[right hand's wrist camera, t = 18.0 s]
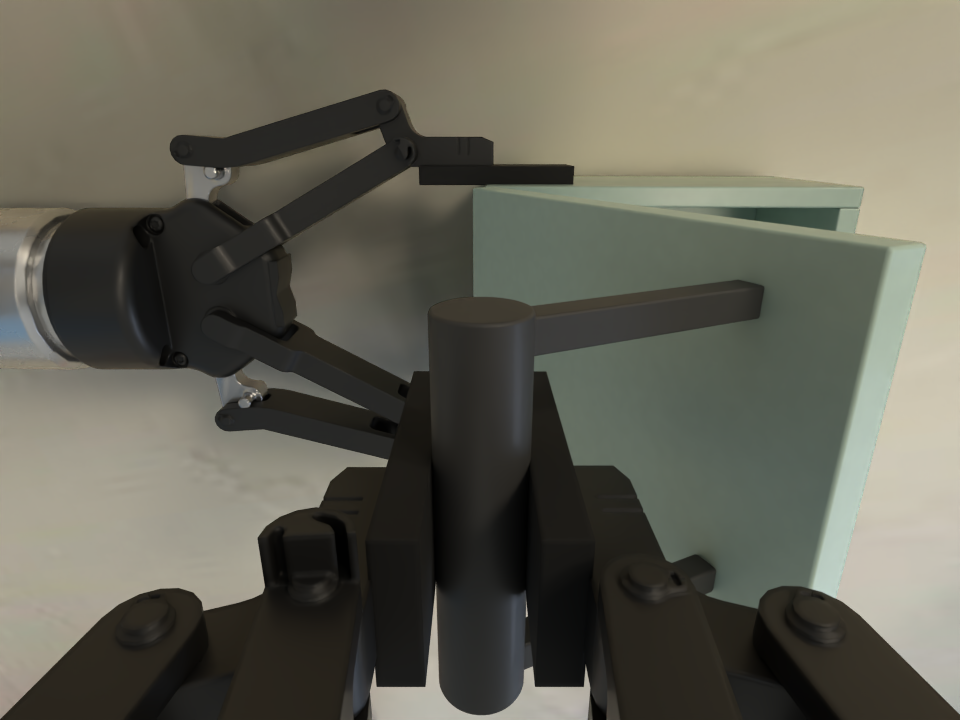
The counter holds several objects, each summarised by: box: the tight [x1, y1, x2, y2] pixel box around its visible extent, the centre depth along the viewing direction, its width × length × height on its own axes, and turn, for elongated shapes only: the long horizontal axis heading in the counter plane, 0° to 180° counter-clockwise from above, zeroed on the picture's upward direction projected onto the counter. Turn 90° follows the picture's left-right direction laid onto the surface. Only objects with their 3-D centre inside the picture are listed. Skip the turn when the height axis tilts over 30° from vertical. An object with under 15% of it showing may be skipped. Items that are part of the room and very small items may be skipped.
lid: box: [428, 187, 926, 715], centre depth 17 cm, size 16×10×8 cm
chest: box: [485, 176, 864, 234], centre depth 29 cm, size 15×10×9 cm, turn 90°
